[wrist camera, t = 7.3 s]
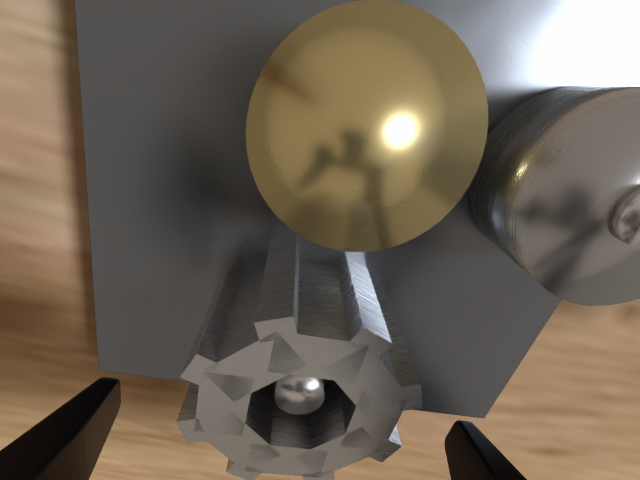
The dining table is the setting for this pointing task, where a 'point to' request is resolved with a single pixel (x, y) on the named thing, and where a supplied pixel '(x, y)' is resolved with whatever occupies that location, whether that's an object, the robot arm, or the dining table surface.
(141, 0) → the plate
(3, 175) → the dining table surface
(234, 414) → the planet gear
